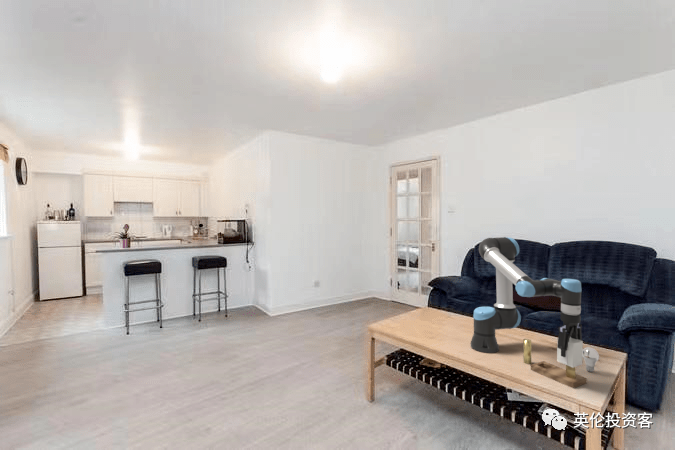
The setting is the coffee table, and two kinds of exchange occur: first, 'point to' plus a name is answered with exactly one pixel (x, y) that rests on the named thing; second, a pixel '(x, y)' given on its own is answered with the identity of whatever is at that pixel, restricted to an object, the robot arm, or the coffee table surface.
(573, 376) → the board
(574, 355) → the block
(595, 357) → the light bulb
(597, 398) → the coffee table surface
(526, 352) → the pin
